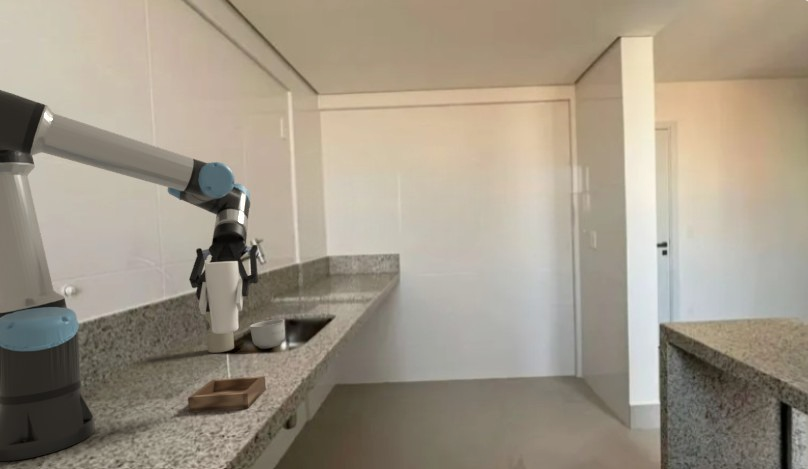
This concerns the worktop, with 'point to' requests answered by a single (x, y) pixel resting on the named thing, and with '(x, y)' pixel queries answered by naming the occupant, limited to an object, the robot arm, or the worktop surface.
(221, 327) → the white tumbler cup
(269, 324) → the teacup
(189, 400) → the walnut tray
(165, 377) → the worktop surface
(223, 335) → the travel mug
